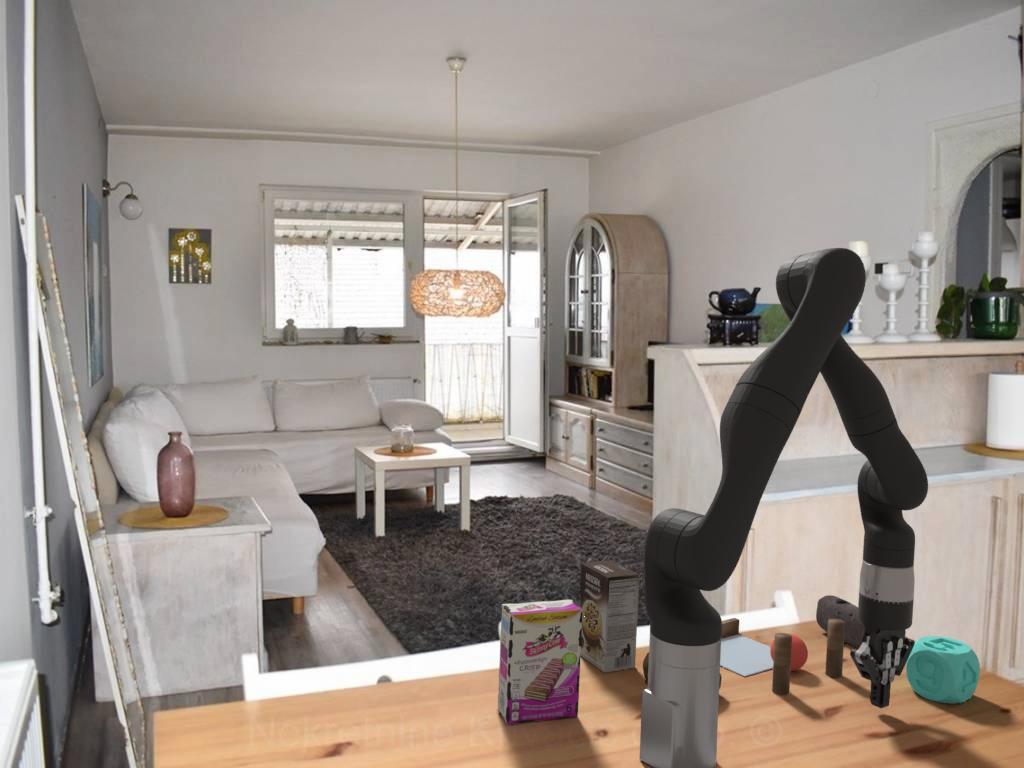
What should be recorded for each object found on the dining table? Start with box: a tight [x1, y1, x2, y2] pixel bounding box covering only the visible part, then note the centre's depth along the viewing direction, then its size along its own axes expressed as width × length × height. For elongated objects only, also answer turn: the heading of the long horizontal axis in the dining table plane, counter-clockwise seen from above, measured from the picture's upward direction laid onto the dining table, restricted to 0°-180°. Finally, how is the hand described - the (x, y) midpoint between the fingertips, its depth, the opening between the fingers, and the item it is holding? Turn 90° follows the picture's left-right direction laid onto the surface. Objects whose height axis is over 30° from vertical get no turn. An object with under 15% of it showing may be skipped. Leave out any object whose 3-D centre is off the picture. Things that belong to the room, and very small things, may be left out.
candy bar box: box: [497, 599, 583, 725], centre depth 136 cm, size 11×5×16 cm, turn 108°
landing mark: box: [720, 633, 773, 678], centre depth 162 cm, size 14×14×1 cm
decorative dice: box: [905, 635, 981, 704], centre depth 147 cm, size 8×8×8 cm
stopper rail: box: [721, 617, 740, 638], centre depth 169 cm, size 16×1×2 cm, turn 124°
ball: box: [770, 633, 809, 672], centre depth 155 cm, size 6×6×6 cm
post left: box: [771, 632, 792, 696], centre depth 146 cm, size 3×3×9 cm
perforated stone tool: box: [815, 595, 864, 649], centre depth 169 cm, size 15×5×7 cm, turn 20°
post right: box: [824, 619, 845, 679], centre depth 154 cm, size 3×3×9 cm
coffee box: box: [579, 559, 640, 673], centre depth 157 cm, size 9×6×16 cm
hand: (879, 705), depth 140 cm, fingers closed
